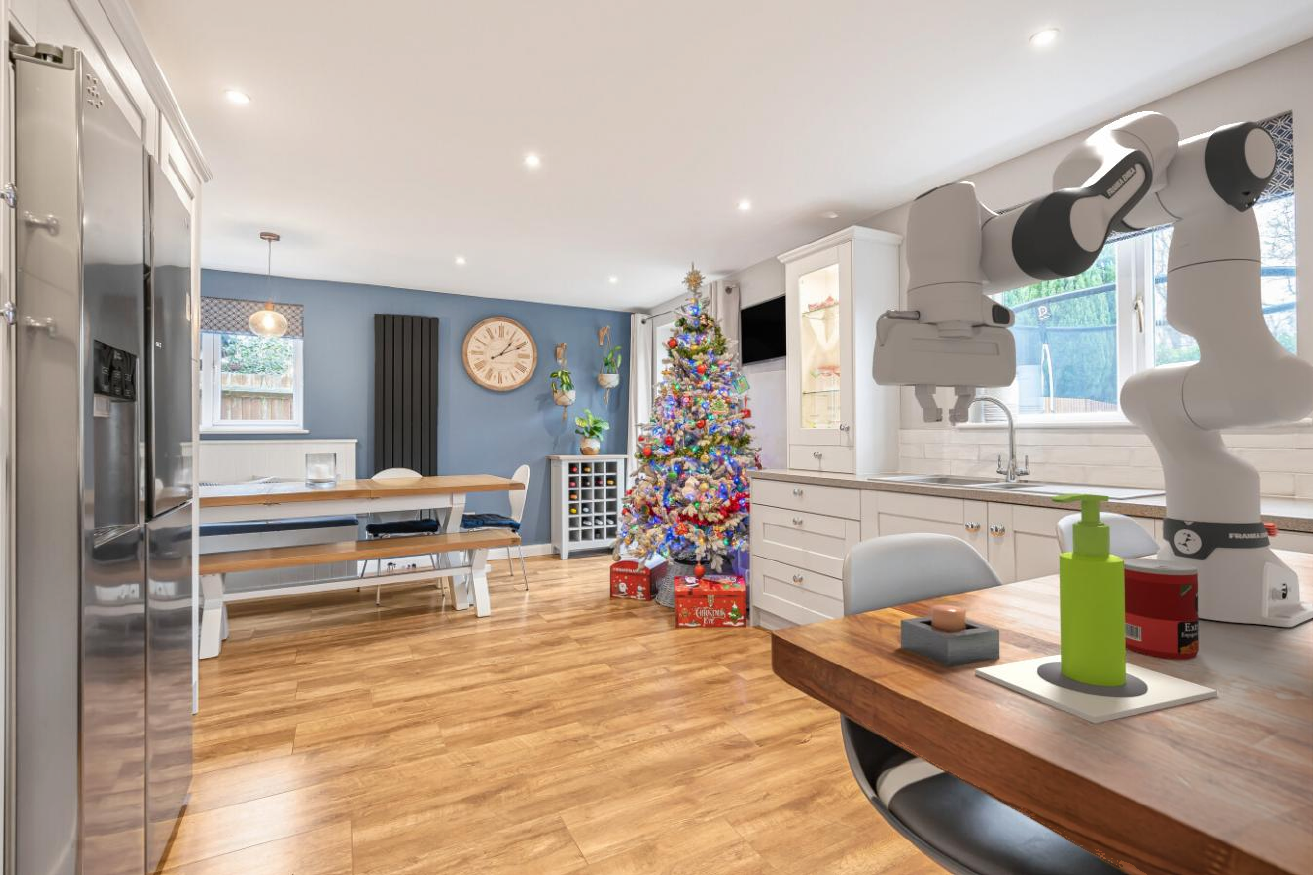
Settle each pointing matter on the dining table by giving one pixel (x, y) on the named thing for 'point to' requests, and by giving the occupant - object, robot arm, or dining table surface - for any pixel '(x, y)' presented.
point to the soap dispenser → (1092, 600)
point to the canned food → (1161, 608)
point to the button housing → (950, 642)
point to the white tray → (1095, 689)
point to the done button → (948, 618)
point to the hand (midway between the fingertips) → (945, 422)
